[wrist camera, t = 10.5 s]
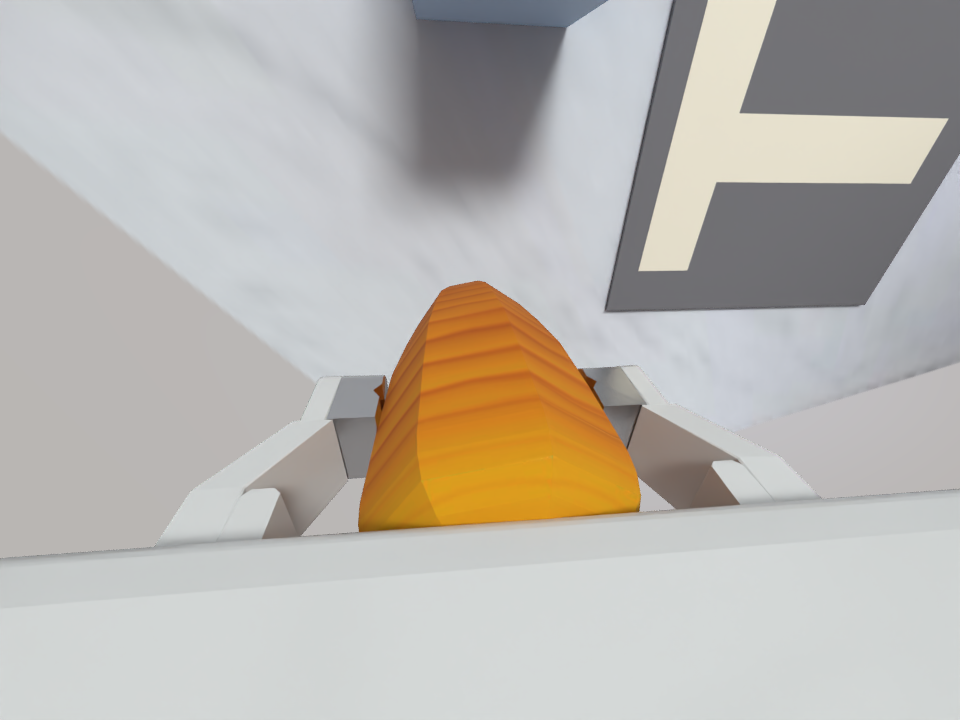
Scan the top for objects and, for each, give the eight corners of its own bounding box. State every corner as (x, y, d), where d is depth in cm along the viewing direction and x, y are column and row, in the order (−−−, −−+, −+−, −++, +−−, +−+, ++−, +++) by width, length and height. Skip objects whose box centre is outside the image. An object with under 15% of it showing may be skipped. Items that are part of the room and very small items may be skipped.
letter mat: (1108, -93, 12) (1116, -95, 12) (862, 303, 20) (865, 304, 20) (701, -127, 11) (705, -129, 11) (605, 309, 19) (606, 310, 19)
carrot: (451, 366, 17) (487, 1082, 4) (376, 278, 14) (-25, 1358, 2) (549, 308, 16) (969, 1049, 3) (486, 202, 13) (1255, 1623, 1)
